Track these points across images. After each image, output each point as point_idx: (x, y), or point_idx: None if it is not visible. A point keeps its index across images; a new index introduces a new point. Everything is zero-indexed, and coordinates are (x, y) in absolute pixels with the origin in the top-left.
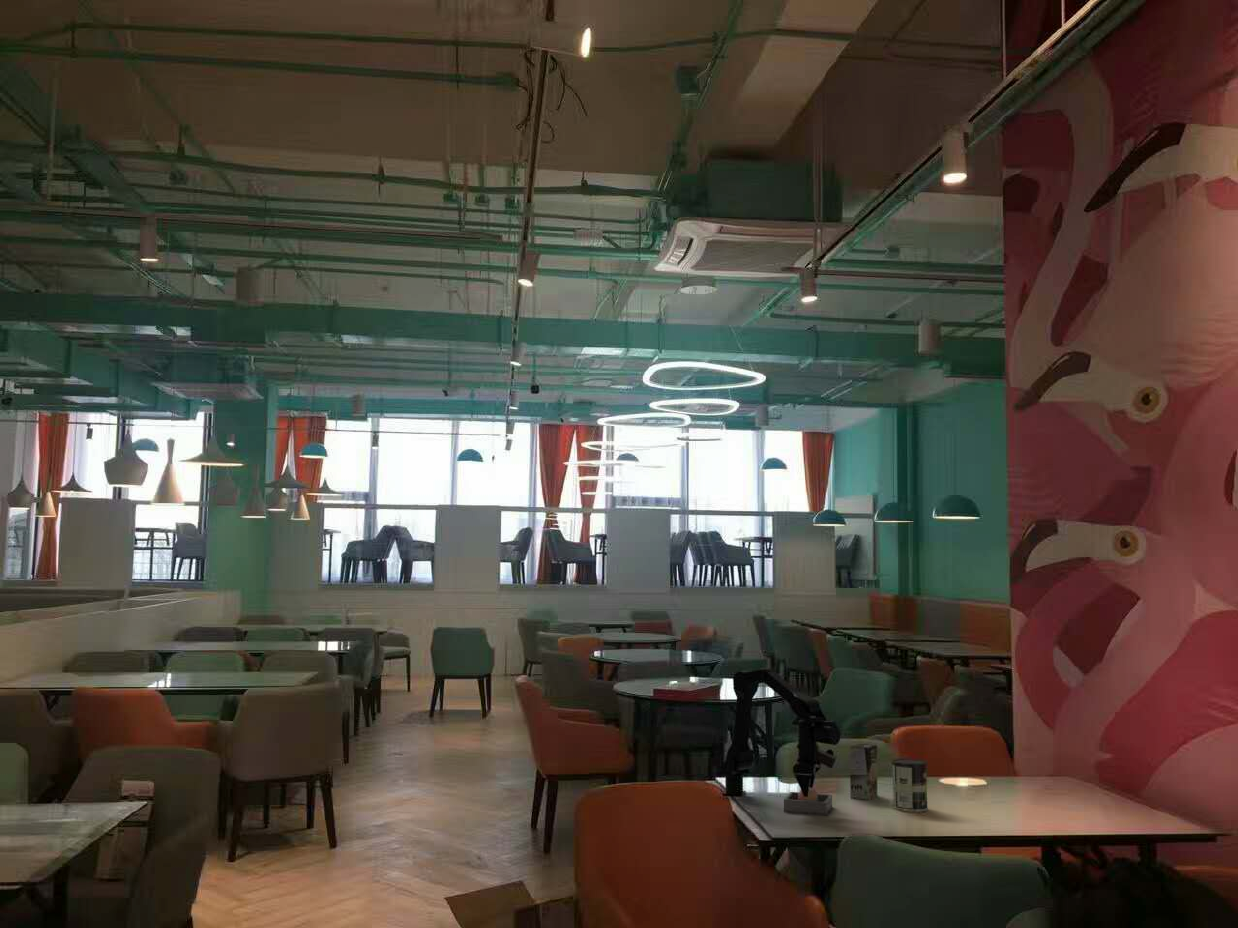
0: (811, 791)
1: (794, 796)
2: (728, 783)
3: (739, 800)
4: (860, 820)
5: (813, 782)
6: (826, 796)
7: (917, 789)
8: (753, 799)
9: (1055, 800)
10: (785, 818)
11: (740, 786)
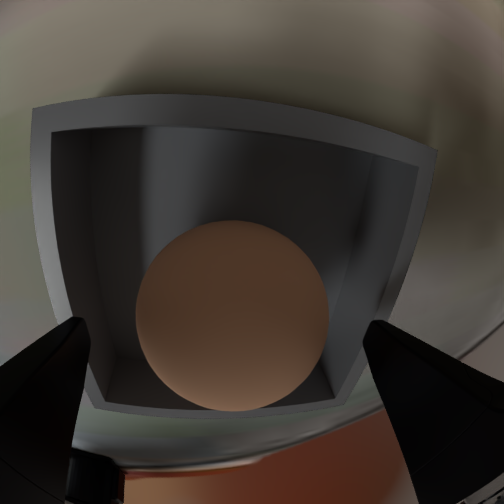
0: (314, 324)
1: (108, 377)
2: (123, 497)
3: (168, 462)
4: (434, 2)
5: (40, 366)
6: (59, 156)
7: None
8: (127, 444)
9: None
10: (434, 321)
11: (95, 477)
